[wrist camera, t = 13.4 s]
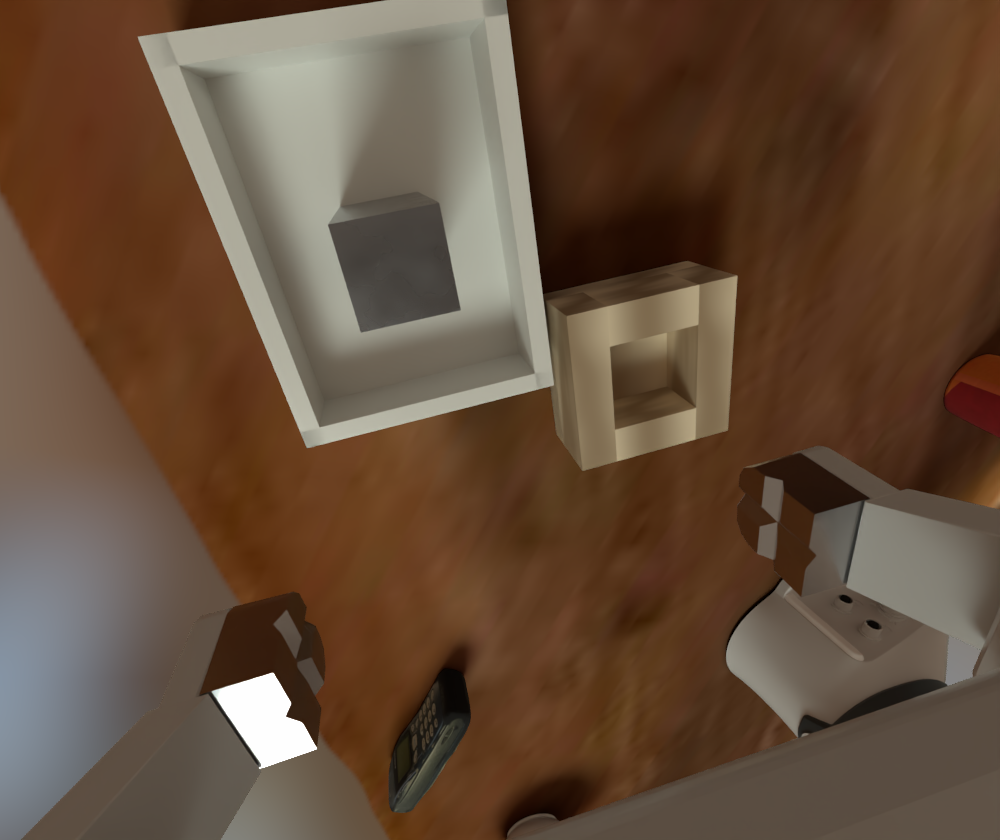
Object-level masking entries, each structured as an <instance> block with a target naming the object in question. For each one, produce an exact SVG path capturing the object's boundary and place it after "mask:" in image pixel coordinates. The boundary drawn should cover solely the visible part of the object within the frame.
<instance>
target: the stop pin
mask: <svg viewBox="0 0 1000 840" xmlns="http://www.w3.org/2000/svg"><path fill="white" fill-rule="evenodd" d="M328 227H329V230H330V233H331V237H332V240H333V243H334V247H335V250H336V253H337V256H338V260H339V263H340V266H341V269H342V273H343V276H344V279H345V283H346V286H347V289H348V292H349V296H350V299H351V302H352V305H353V309H354V312H355V315H356V318H357V322H358V325H359V328H360V332H361V333H362V332H366V331H371V330H375V329H380V328H384V327H389V326H393V325H398V324H402V323H406V322H411V321H415V320H420V319H424V318H429V317H433V316H437V315H442V314H446V313H451V312H455V311H460V310H461V308H460V303H459V298H458V293H457V288H456V283H455V278H454V273H453V269H452V264H451V259H450V254H449V249H448V244H447V239H446V234H445V229H444V224H443V219H442V214H441V209H440V204H439V202H437V201H435V200H433V199H431V198H429V197H427V196H425V195H423V194H421V193H419V192H413V193H408V194H403V195H398V196H392V197H387V198H382V199H377V200H372V201H366V202H361V203H356V204H351V205H346V206H340V207H339V209H338V210H337V212H336V213H335V215H334V216H333V218H332V219H331V221H330V222H329V224H328Z"/></svg>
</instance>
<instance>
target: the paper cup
mask: <svg viewBox="0 0 1000 840" xmlns="http://www.w3.org/2000/svg"><path fill="white" fill-rule="evenodd" d="M944 406H945V408H946V409H947V410H948V411H949V412H951V413H952V414H954V415H956V416H958V417H959V418H961V419H963V420H965V421H967V422H969V423H971V424H973V425H975V426H977V427H979V428H981V429H983V430H985V431H987V432H989V433H991V434H993V435H995V436H997V437H999V438H1000V356H997V355H992V354H984V355H980V356H977V357H975V358H973V359H971V360H970V361H968V362H967V363H966V364H964V365H963V366H962V367H961V368H960V369H959V370H958V371H957V372H956V373H955V375H954V376H953V377H952V379H951V380H950V382H949V384H948V386H947V388H946V390H945V394H944Z"/></svg>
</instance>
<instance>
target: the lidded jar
mask: <svg viewBox="0 0 1000 840" xmlns="http://www.w3.org/2000/svg"><path fill="white" fill-rule="evenodd" d="M556 822H559V821H558V820H557V819H556V817H555V816H554V815H552V814H548V813H539V814H534V815H531V816H528V817H525V818H523V819H521V820H520V821H518V822H517V823H515V824H514V825H513V826H512V827H511V828H510V829H509V831H508V834H507V839H506V840H508V839H511V838H513V837H516V836H519V835H522V834H525V833H528V832H531V831H533V830H536V829H539V828H542V827H545V826H548V825H551V824H553V823H556Z"/></svg>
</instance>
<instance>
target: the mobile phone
mask: <svg viewBox="0 0 1000 840" xmlns="http://www.w3.org/2000/svg"><path fill="white" fill-rule="evenodd" d="M470 718H471V712H470V704H469V698H468V693H467V688H466V682H465V679H464V677H463V675H462V674H461V673H460V672H458V671H456V670H451V669H444V670H443V671H442V672H441V673H440V674H439V676H438V677H437V679H436V681H435V683H434V685H433V686H432V688H431V690H430V692H429V693H428V695H427V697H426V699H425V700H424V702H423V704H422V706H421V707H420V709H419V711H418V713H417V714H416V715H415V717H414V718H413V720H412V721H411V723H410V724H409V725H408V727H407V728H406V730H405V731H404V732H403V733H402V735H401V736H400V738H399V740H398V742H397V745H396V747H395V749H394V752H393V756H392V760H391V763H390V768H389V805H390V808H391V810H392V811H393V812H401V813H403V812H409V811H411V810H413V808H414V807H415V806H416V804H417V803H418V802H419V800H420V799H421V798H422V797H423V796H424V794H425V793H426V792H427V791H428V790H429V789H430V787H431V786H432V785H433V783H434V782H435V780H436V779H437V777H438V775H439V774H440V772H441V771H442V769H443V768H444V766H445V764H446V762H447V761H448V759H449V758H450V757H451V755H452V754H453V753H454V751H455V750H456V748H457V746H458V744H459V743H460V741H461V739H462V738H463V736H464V734H465V732H466V730H467V728H468V726H469V723H470Z"/></svg>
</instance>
